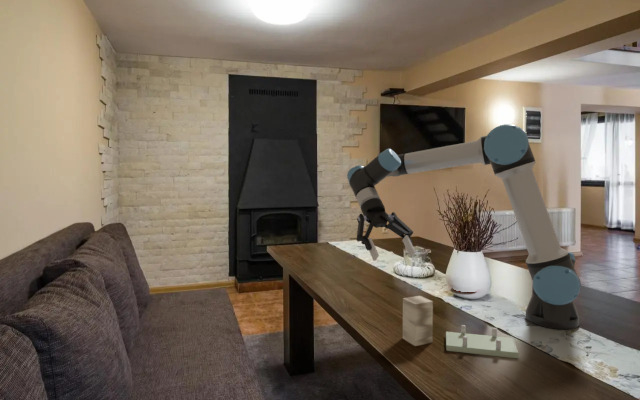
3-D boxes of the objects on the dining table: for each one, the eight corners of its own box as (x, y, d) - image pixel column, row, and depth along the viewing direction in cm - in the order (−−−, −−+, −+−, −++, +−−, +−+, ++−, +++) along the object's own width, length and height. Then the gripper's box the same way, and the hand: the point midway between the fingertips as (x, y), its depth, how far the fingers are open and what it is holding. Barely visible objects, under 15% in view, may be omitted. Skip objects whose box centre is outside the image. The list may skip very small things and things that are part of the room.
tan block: (419, 334, 124) (419, 295, 124) (432, 342, 119) (432, 301, 118) (402, 338, 122) (402, 298, 121) (415, 346, 117) (415, 304, 116)
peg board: (512, 343, 118) (512, 329, 118) (518, 358, 108) (518, 343, 108) (445, 336, 123) (446, 323, 123) (446, 350, 114) (446, 336, 113)
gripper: (396, 209, 149) (422, 259, 137) (334, 212, 139) (355, 266, 126) (405, 195, 144) (433, 246, 131) (341, 197, 134) (364, 252, 121)
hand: (395, 256), depth 129 cm, fingers open, 13 cm apart
